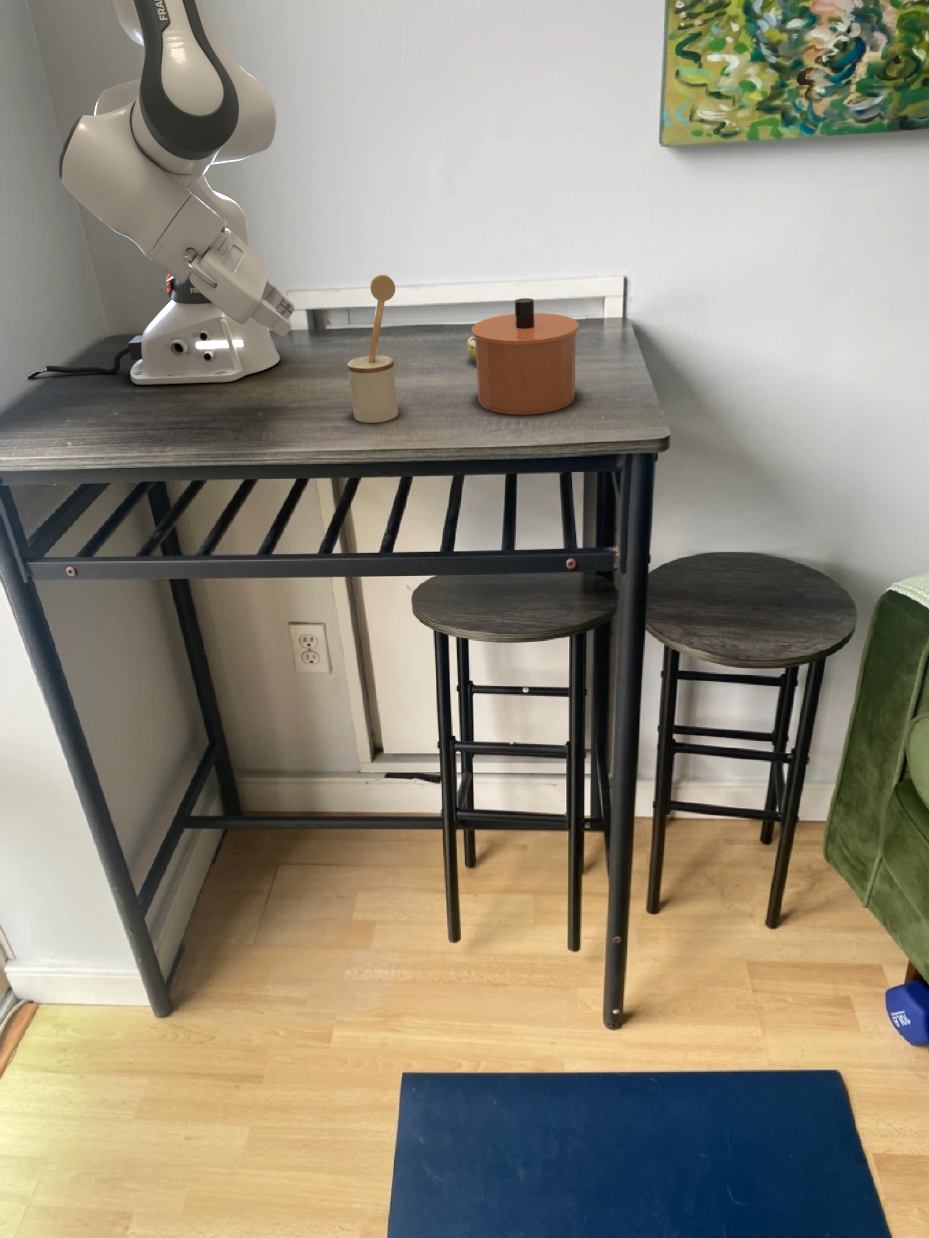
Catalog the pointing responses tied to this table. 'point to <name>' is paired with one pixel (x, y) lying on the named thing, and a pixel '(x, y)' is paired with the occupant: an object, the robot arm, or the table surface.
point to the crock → (374, 368)
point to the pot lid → (525, 326)
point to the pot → (526, 376)
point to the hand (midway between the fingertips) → (290, 322)
